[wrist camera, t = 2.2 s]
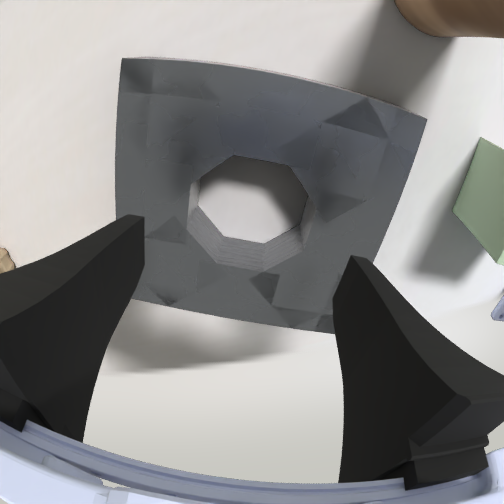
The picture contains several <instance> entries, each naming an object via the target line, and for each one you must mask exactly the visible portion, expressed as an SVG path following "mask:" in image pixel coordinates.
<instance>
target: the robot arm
mask: <svg viewBox="0 0 504 504" xmlns="http://www.w3.org/2000/svg"><path fill="white" fill-rule="evenodd" d="M144 266H145V217H143V216H137V215H131V214H128V215H125V216H123V217H121V218H119V219H117V220H116V221H114V222H112V223H110V224H108V225H107V226H105V227H103V228H101V229H100V230H98V231H96V232H94V233H92V234H91V235H89V236H87V237H85V238H83V239H81V240H80V241H78V242H76V243H74V244H72V245H70V246H68V247H66V248H64V249H62V250H60V251H58V252H56V253H54V254H52V255H50V256H47V257H45V258H43V259H40V260H38V261H35V262H33V263H30V264H27V265H24V266H22V267H19V268H16V269H13V270H10V271H7V272H4V273H0V498H1V499H3V500H4V501H6V502H8V503H9V504H504V448H501V449H497V450H494V451H492V452H490V453H488V454H486V453H485V450H484V447H486V446H487V445H488V444H489V440H488V436H487V434H489V433H490V432H491V431H493V430H494V429H495V428H496V427H497V426H499V425H500V424H501V423H502V422H504V375H502V374H500V373H498V372H497V371H495V370H493V369H491V368H489V367H487V366H486V365H484V364H483V363H481V362H479V361H478V360H476V359H475V358H473V357H472V356H470V355H469V354H467V353H466V352H464V351H463V350H462V349H460V348H459V347H458V346H456V345H455V344H454V343H452V342H451V341H450V340H449V339H447V338H446V337H445V336H444V335H442V334H441V333H440V332H439V331H438V330H437V329H436V328H434V327H433V326H432V325H431V324H430V323H429V322H428V321H427V320H426V319H425V318H423V317H422V316H421V315H420V314H419V313H418V312H417V311H416V310H415V309H414V308H413V306H412V305H411V304H410V303H409V302H408V301H407V300H406V299H405V298H404V297H403V296H402V295H401V294H400V293H399V292H398V291H397V289H396V288H395V287H394V286H393V285H392V284H391V283H390V282H389V281H388V280H387V278H386V277H385V276H384V275H383V274H382V273H381V272H380V271H379V270H378V269H377V268H376V267H375V266H374V265H373V263H371V262H370V261H369V260H368V259H367V258H364V257H359V256H354V255H351V256H350V258H349V261H348V263H347V266H346V268H345V270H344V273H343V275H342V277H341V280H340V282H339V284H338V287H337V289H336V291H335V294H334V296H333V298H332V303H333V324H334V330H335V336H336V342H337V347H338V353H339V358H340V365H341V370H342V379H343V394H344V428H343V429H344V430H343V446H342V458H341V467H340V474H339V481H338V483H333V484H332V483H331V484H330V483H329V484H298V483H273V482H259V481H248V480H239V479H230V478H223V477H216V476H209V475H203V474H197V473H191V472H186V471H181V470H175V469H171V468H167V467H162V466H157V465H154V464H149V463H146V462H142V461H138V460H134V459H131V458H127V457H124V456H120V455H117V454H114V453H111V452H107V451H104V450H101V449H98V448H95V447H93V446H89V445H87V444H84V443H83V437H84V431H85V426H86V420H87V415H88V410H89V406H90V402H91V398H92V394H93V390H94V386H95V383H96V380H97V376H98V373H99V369H100V366H101V363H102V360H103V357H104V354H105V351H106V349H107V346H108V343H109V341H110V339H111V336H112V334H113V332H114V330H115V328H116V326H117V324H118V322H119V320H120V318H121V317H122V315H123V313H124V311H125V309H126V307H127V305H128V303H129V301H130V299H131V297H132V295H133V293H134V291H135V289H136V287H137V285H138V282H139V280H140V277H141V274H142V271H143V269H144ZM491 317H492V319H493V320H498V321H504V295H503V297H502V298H501V300H500V301H499V303H498V305H497V306H496V307H495V309H494V310H493V312H492V313H491ZM95 476H96V477H95ZM97 477H99V478H102V479H105V480H108V481H111V482H114V483H117V484H121V485H124V486H127V487H131V488H125V487H116V488H112V487H108V486H104V485H103V482H102V481H101V479H99V478H97Z"/></svg>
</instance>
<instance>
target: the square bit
mask: <svg viewBox="0 0 504 504" xmlns="http://www.w3.org/2000/svg"><path fill="white" fill-rule="evenodd" d="M452 212H453V213H454V214H455V215H456V216H457V217H458V218H459V219H460V220H461V222H462V223H463V224H464V225H465V226H466V227H467V228H468V229H469V231H470V232H471V233H472V234H473V235H474V236H475V238H476V239H477V240H478V241H479V242H480V244H481V245H482V246H483V247H484V248H485V250H486V251H487V252H488V253H489V255H490V256H491V257H492V258H493V260H494V261H495V262H496V263H497V264H501V265H504V149H502V148H500V147H499V146H497V145H495V144H493V143H491V142H489V141H487V140H485V139H484V138H482V137H480V140H479V143H478V146H477V149H476V152H475V154H474V157H473V160H472V163H471V165H470V168H469V171H468V173H467V176H466V178H465V181H464V183H463V186H462V188H461V191H460V193H459V196H458V198H457V200H456V203H455V205H454V207H453V210H452Z"/></svg>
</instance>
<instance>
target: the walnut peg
mask: <svg viewBox="0 0 504 504" xmlns="http://www.w3.org/2000/svg"><path fill="white" fill-rule="evenodd" d="M394 1H395V3H396V6H397V7H398V9H399V11H400V12H401V14H402V15H403V16H404V18H405V19H406V20H407V21H408V22H409V23H410V24H411V25H413V26H414V27H415V28H416V29H418V30H419V31H421V32H423V33H425V34H428V35H431V36H436V37H492V38H504V0H394Z"/></svg>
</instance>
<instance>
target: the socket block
mask: <svg viewBox="0 0 504 504" xmlns="http://www.w3.org/2000/svg"><path fill="white" fill-rule="evenodd" d="M426 122H427V119H426V118H424V117H422V116H420V115H418V114H416V113H413V112H411V111H409V110H407V109H405V108H402V107H399V106H396V105H394V104H391V103H388V102H385V101H382V100H379V99H376V98H373V97H370V96H367V95H364V94H361V93H357V92H354V91H351V90H347V89H344V88H340V87H337V86H333V85H330V84H326V83H322V82H318V81H314V80H310V79H306V78H301V77H297V76H293V75H288V74H283V73H278V72H273V71H268V70H263V69H257V68H251V67H245V66H238V65H231V64H224V63H216V62H208V61H198V60H187V59H175V58H157V57H134V58H122V62H121V71H120V81H119V92H118V106H117V122H116V150H115V200H116V220H117V219H119V218H121V217H123V216H125V215H128V214H131V215H137V216H143V217H145V266H144V269H143V271H142V274H141V277H140V280H139V282H138V285H137V287H136V289H135V291H134V293H133V295H132V297H131V298H132V299H136V300H141V301H145V302H150V303H155V304H159V305H164V306H169V307H174V308H178V309H183V310H188V311H193V312H199V313H204V314H209V315H214V316H220V317H225V318H231V319H237V320H243V321H249V322H255V323H261V324H267V325H273V326H280V327H286V328H293V329H300V330H307V331H315V332H322V333H330V334H335V330H334V324H333V303H332V298H333V296H334V294H335V291H336V289H337V287H338V284H339V282H340V280H341V277H342V275H343V273H344V270H345V268H346V266H347V263H348V261H349V258H350V256H351V255H354V256H359V257H364V258H367V259H368V260H369V261H370V262H371V263H373V261H374V259H375V257H376V255H377V252H378V250H379V248H380V246H381V243H382V241H383V239H384V236H385V234H386V232H387V229H388V227H389V224H390V222H391V220H392V217H393V215H394V212H395V210H396V207H397V205H398V202H399V200H400V197H401V194H402V192H403V189H404V187H405V184H406V181H407V179H408V176H409V173H410V170H411V167H412V165H413V162H414V159H415V156H416V153H417V150H418V147H419V144H420V141H421V138H422V135H423V132H424V129H425V125H426ZM233 155H237V156H243V157H248V158H253V159H259V160H264V161H269V162H274V163H279V164H284V165H289V166H290V168H291V169H292V171H293V172H294V174H295V175H296V177H297V178H298V180H299V181H300V183H301V184H302V186H303V187H304V189H305V190H306V192H307V194H308V198H307V201H306V205H305V208H304V212H303V215H302V219H301V222H300V225H298V226H296V227H294V228H292V229H291V230H289V231H287V232H285V233H283V234H281V235H280V236H278V237H276V238H274V239H272V240H271V241H269V242H267V243H265V244H262V243H257V242H251V241H246V240H240V239H235V238H229V237H224V236H223V235H222V234H221V233H220V232H219V230H218V229H217V228H216V227H215V226H214V224H213V223H212V222H211V221H210V220H209V218H208V217H207V216H206V215H205V214H204V212H203V211H202V210H201V209H200V208H199V206H198V198H199V189H200V181H201V177H202V176H203V175H205V174H206V173H208V172H209V171H210V170H212V169H213V168H215V167H216V166H218V165H219V164H221V163H222V162H224V161H225V160H227V159H228V158H230V157H231V156H233Z"/></svg>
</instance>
